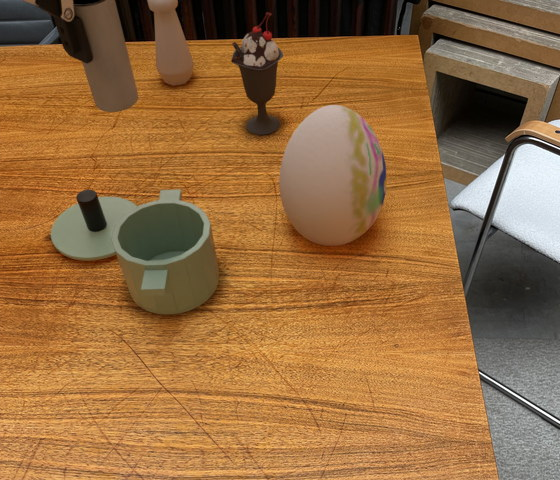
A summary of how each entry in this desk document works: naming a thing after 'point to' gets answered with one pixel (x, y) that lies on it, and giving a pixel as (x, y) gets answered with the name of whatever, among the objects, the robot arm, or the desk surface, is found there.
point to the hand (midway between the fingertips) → (101, 44)
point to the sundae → (259, 75)
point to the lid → (89, 226)
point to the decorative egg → (333, 176)
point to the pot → (167, 254)
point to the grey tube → (107, 56)
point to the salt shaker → (170, 43)
